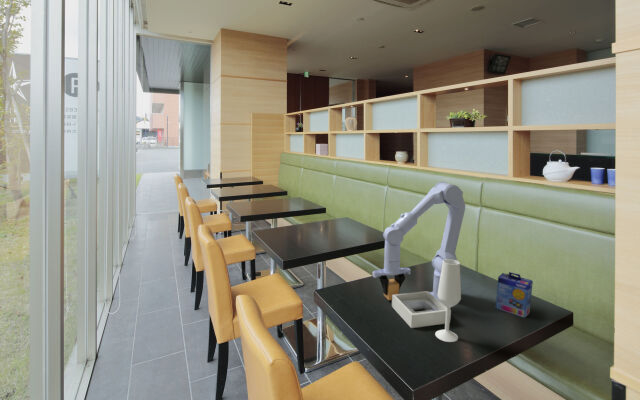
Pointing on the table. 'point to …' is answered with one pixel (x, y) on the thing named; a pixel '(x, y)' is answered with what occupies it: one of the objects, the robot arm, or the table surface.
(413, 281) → the table surface
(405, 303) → the inlet socket
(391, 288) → the light brown rectangular block
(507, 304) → the ink cartridge box
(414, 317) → the walled box
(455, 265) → the champagne flute
